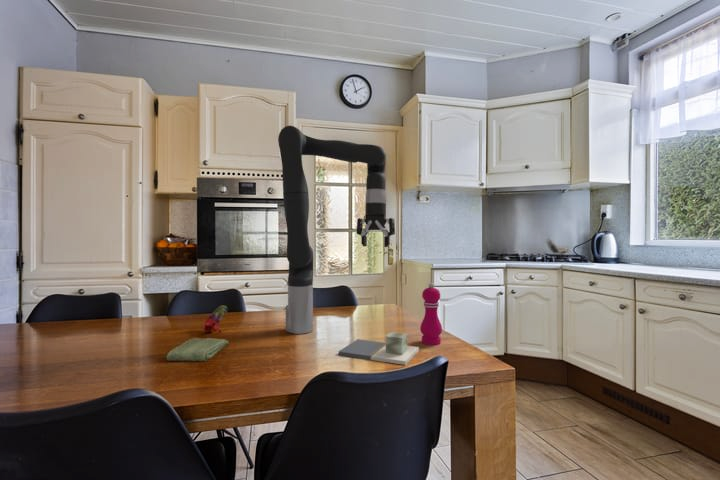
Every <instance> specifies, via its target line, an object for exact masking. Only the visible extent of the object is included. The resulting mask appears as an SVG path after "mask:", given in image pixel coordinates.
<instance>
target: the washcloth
mask: <svg viewBox="0 0 720 480" xmlns="http://www.w3.org/2000/svg"><path fill="white" fill-rule="evenodd" d="M228 344H230V342H229V340H228V339H224V338H223V339H222V338H221V339H220V338H215V337H213V338H212V337H207V338H199V337H193V338H191V339H187V340H186V341H184V342H182V343H181V344H180V345H179V346H176V347H174V348H173V349H171V350H170V351H169V352H168V353H167V355H166V356H165V358H166V360H167V361H168V362H176V361H177V362H185V361H187V362H188V361H189V362H190V361H191V362H207V361H209V360H211V359H212V358H213V357H214V356H216V355H217V354H218V353H219V352H220V351H221V350H222V349H224V348H225V347H226V346H227V345H228Z"/></svg>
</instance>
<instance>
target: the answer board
mask: <svg viewBox="0 0 720 480" xmlns="http://www.w3.org/2000/svg"><path fill="white" fill-rule="evenodd" d="M419 351H420V346H414V345H413V346H412V345H407V351H406V352H405V353H404V354H403V355H397V354H390V353H386V342H382V341H375V340H367V339H359V338H358V339H356V340H354V341H352V342H351V343H349V344H348V345H346V346H345V347H343V348H342V349H339V351H338V355H339V356H345V357H351V358H357V359H365V360H372V361H376V362H377V361H378V362H384V363H391V364H397V365H403V366H406V365H407V364H408V363H409V362H410V360H412V358H413V357H414V356H416V354H417V353H418V352H419Z"/></svg>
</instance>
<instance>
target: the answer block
mask: <svg viewBox="0 0 720 480" xmlns="http://www.w3.org/2000/svg"><path fill="white" fill-rule="evenodd" d="M385 343H386V353H390V354H397V355H403V354H404V353H405V352H406V351H407V346H408V334H407V333H402V332H393V331H391V332H390V333H388V334H386V335H385Z"/></svg>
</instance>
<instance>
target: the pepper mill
mask: <svg viewBox="0 0 720 480" xmlns="http://www.w3.org/2000/svg"><path fill="white" fill-rule="evenodd" d="M421 297H422V300H423V307H424V309H425V310H424V311H425V312H424V317H423V319H422V320H421V321H422V322H421V324H420V329H419V330H420V333H421V334H422V336H421V343H422V344H424V345H429V346H435V345H436V346H437V345H440V344H441V343H442V342H441V341H442V340H441V339H442V338H441V336H440V335H441V334H442V333H443V327H442V324H441V321H440V319H439V317H438V308H439V307H440V305H439V303H440V302H439V301H440V299H441V292H440V291H439V289H438V288H436V287H435V285H434V283H433V282H429V283H428V287H426V288H424V290H423V291H422V294H421Z"/></svg>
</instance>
